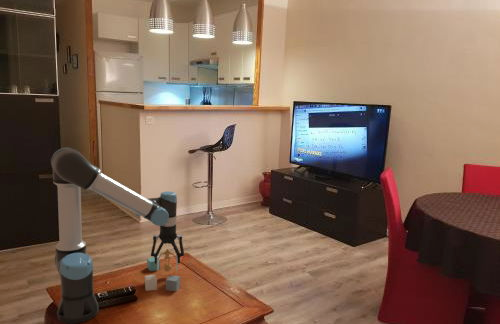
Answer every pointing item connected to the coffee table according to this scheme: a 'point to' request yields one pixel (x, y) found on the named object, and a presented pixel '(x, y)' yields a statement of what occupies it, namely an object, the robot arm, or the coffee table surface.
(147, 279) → the cube offwhite
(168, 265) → the figurine
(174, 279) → the cube slate
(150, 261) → the cube teal
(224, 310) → the coffee table surface
